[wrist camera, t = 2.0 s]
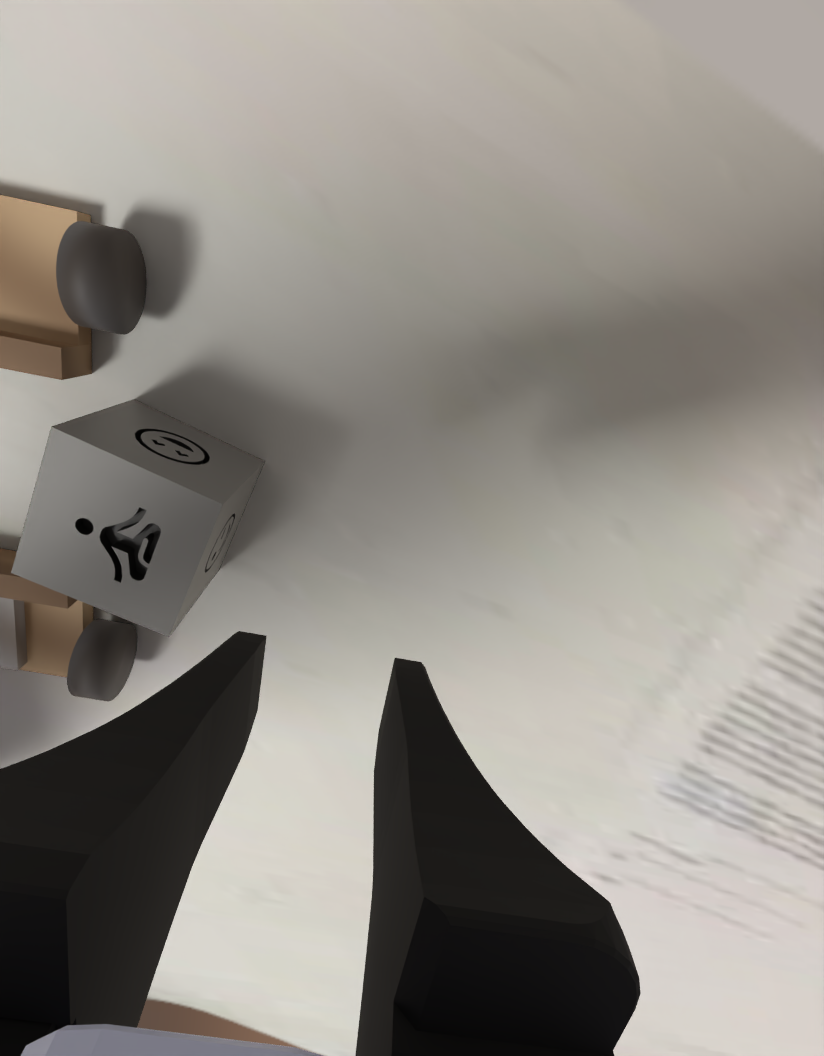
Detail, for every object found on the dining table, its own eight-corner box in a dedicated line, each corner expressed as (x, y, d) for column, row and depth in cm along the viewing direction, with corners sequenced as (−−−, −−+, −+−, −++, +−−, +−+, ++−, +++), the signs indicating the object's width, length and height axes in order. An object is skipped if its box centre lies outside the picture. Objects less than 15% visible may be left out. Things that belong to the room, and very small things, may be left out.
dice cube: (219, 569, 23) (169, 637, 18) (96, 516, 22) (11, 573, 17) (265, 460, 21) (222, 504, 16) (134, 399, 20) (51, 426, 16)
